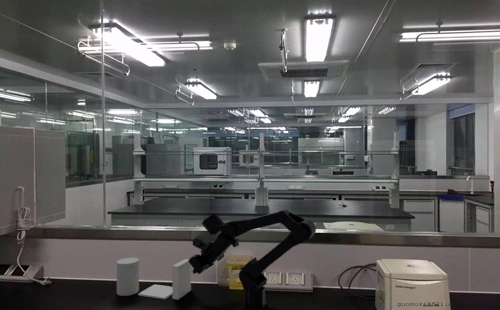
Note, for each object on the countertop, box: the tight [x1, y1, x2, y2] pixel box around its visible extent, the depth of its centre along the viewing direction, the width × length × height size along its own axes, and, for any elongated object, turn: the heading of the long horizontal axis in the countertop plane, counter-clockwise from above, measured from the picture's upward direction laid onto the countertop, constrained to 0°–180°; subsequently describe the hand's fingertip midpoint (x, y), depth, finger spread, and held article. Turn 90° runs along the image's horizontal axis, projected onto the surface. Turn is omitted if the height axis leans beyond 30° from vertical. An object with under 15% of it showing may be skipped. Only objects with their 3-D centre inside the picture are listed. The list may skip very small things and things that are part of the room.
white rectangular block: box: [171, 258, 192, 301], centre depth 122 cm, size 3×9×12 cm, turn 160°
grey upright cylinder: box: [116, 257, 140, 297], centre depth 126 cm, size 8×8×12 cm
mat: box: [137, 284, 173, 300], centre depth 124 cm, size 12×10×1 cm
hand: (193, 272), depth 120 cm, fingers closed
